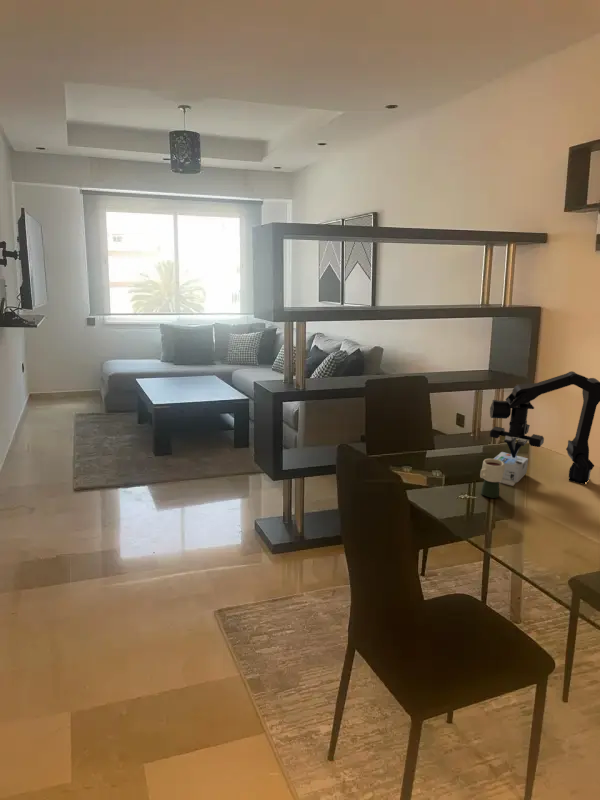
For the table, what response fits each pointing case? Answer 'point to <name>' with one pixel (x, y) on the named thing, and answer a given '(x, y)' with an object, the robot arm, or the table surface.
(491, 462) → the character mug
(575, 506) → the table surface
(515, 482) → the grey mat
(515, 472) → the light bulb box
